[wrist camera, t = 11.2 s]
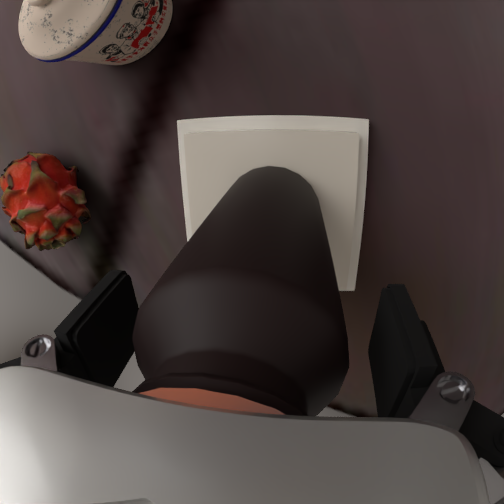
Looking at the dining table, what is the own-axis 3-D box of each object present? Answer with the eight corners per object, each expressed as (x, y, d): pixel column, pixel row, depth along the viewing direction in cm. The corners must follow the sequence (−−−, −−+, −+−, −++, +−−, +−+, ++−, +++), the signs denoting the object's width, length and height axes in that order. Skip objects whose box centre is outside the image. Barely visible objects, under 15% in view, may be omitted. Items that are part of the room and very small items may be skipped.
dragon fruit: (115, 225, 30) (50, 162, 30) (110, 177, 23) (36, 110, 22) (57, 285, 26) (-4, 211, 26) (30, 252, 18) (-33, 165, 18)
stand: (364, 118, 21) (373, 120, 19) (351, 282, 27) (356, 300, 25) (183, 119, 23) (169, 121, 21) (197, 276, 29) (187, 293, 27)
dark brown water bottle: (220, 167, 22) (-12, 397, 4) (319, 163, 21) (420, 465, 3) (229, 255, 24) (120, 525, 6) (319, 254, 23) (338, 554, 6)
